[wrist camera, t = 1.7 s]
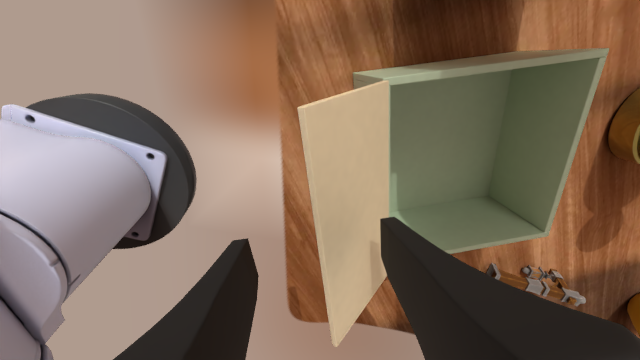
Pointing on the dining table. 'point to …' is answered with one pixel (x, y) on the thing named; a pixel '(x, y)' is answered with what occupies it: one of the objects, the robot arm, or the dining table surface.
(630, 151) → the brass weight
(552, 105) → the box
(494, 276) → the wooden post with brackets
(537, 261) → the dining table surface
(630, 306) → the apple
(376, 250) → the door
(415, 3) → the dining table surface
